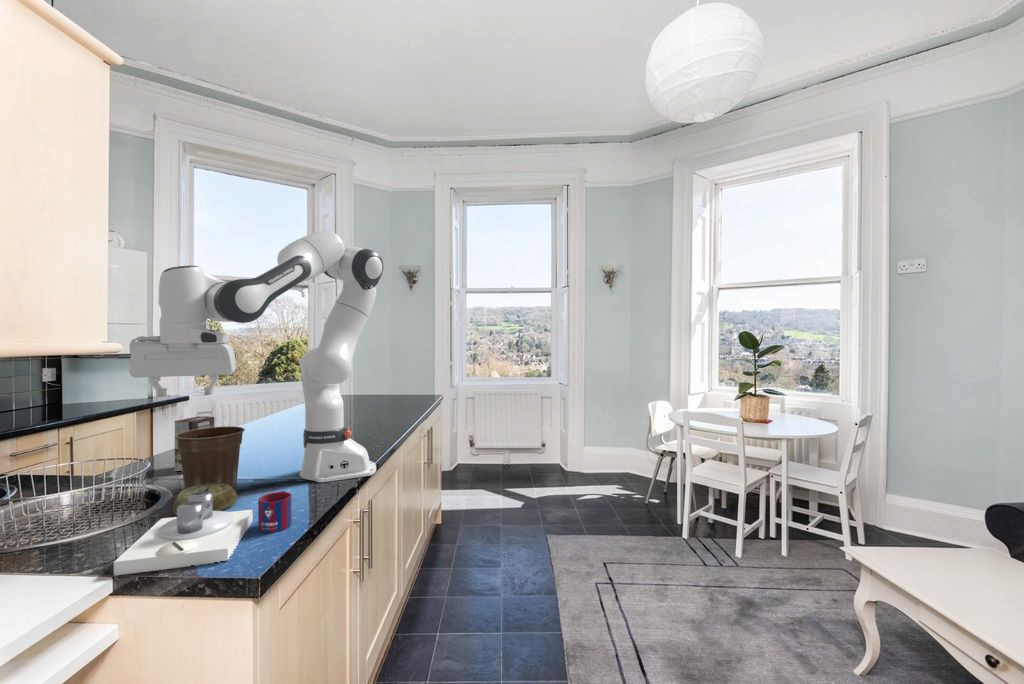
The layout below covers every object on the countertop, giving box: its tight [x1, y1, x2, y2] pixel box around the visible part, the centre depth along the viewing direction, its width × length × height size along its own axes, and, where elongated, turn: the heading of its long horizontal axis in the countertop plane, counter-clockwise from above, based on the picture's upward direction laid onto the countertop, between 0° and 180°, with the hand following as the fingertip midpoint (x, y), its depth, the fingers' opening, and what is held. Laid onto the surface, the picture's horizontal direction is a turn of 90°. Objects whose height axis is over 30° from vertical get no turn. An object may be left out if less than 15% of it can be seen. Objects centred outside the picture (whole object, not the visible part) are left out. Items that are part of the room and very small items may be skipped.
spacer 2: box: [176, 501, 203, 534], centre depth 94 cm, size 4×4×5 cm
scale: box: [113, 509, 254, 576], centre depth 94 cm, size 18×20×3 cm
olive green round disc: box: [172, 483, 238, 516], centre depth 114 cm, size 14×13×5 cm
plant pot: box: [174, 426, 245, 490], centre depth 128 cm, size 16×16×16 cm
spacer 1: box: [188, 491, 213, 520], centre depth 100 cm, size 4×4×5 cm
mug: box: [257, 490, 293, 534], centre depth 105 cm, size 7×10×7 cm
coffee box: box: [174, 415, 215, 472], centre depth 146 cm, size 9×6×16 cm
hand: (185, 395), depth 106 cm, fingers open, 8 cm apart
